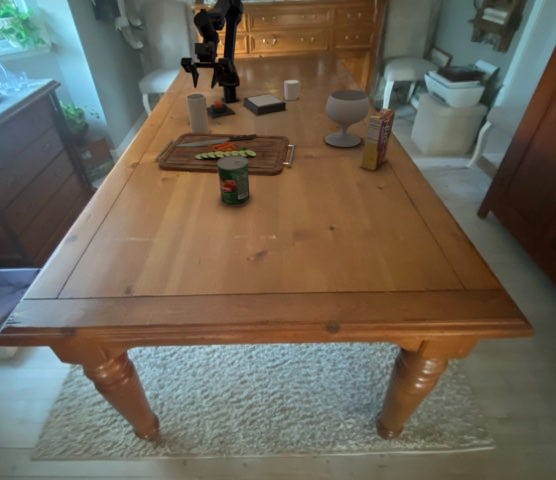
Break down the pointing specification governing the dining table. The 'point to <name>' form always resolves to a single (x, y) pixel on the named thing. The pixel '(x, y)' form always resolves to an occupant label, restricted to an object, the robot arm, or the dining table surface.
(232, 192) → the canned tomato
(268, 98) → the scale
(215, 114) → the tare pad
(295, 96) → the shot glass
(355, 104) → the chalice
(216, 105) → the scale button
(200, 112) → the beaker
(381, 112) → the candy box
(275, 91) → the dining table surface
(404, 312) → the dining table surface
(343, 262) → the dining table surface
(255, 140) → the chopping board
